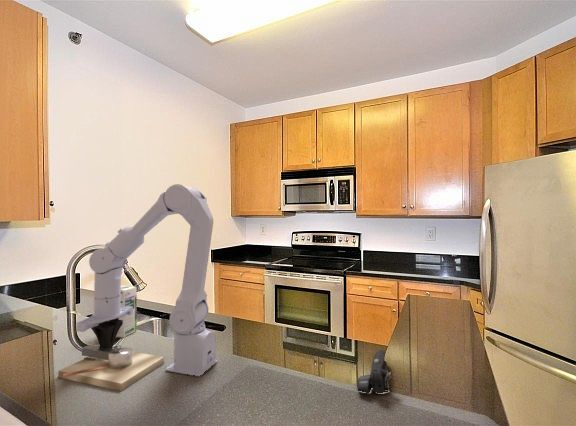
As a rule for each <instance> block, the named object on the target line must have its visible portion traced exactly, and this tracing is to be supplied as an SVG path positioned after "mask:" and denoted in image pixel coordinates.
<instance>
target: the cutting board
mask: <svg viewBox="0 0 576 426" xmlns="http://www.w3.org/2000/svg"><path fill="white" fill-rule="evenodd" d="M164 364H165V356H160V355H156V354H155V355H153V354H149V353H142V352H135V351H133V362H132V364H130V365H129V366H127V367H124V368H120V369H111V368H109V367H108V360H105V359H100V358H94V357H88V356H84V357H83V359H81V360H78V361H77V362H75V363H73V364H72V363H71V364H70V365H67V366H66V367H63V368H61V369H58V376H57V377H58V378H60V379H63V380H68V381H74V382H77V383H82V384H83V383H84V384H87V385H93V386H97V387H102V388H106V389H111V390H117V391H121V392H122V391H123V390H125V389H127V388H128V387H130V386H131V385H133V384H134V383H136V382H137V381H139V380H140V379H142V378H143V377H145V376H146V375H148V374H149V373H151V372H153V371H154V370H156V369H157V368H159V367H160V366H162V365H164Z"/></svg>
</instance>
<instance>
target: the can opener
mask: <svg viewBox="0 0 576 426" xmlns="http://www.w3.org/2000/svg"><path fill="white" fill-rule="evenodd" d="M385 357H386V351H384V350H382V349H378V350H376V352H375V353H374V355H373V358H372V361H371V369H370V374H365V375H360V376H359V377H358V379H357V381H356V382H357V383H356V389H357V392H358V391H362V392H366V393H369V392H370V390H371V388H373V390H372V392H374V391H375V392H377V393H383V392H388V391H385V390H388V389H390V385H389V381H390V379H392V374H391V372H392V371H389V370H388V363H387V361H386V360H385Z"/></svg>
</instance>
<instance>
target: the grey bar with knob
mask: <svg viewBox="0 0 576 426" xmlns="http://www.w3.org/2000/svg"><path fill="white" fill-rule="evenodd" d="M133 352H134V350H133V348H132V347H122V345H116V346H114V347H113V348H112V349H110V348H104V347H100V346H99V345H91V344H88V345H86V346H83V347H82V348H81V356H83V357H94V358H100V359H105V360H108V367H109V368H111V369H120V368H124V367H127V366H129V365H130V364H132V362H133Z"/></svg>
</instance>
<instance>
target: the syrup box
mask: <svg viewBox="0 0 576 426" xmlns="http://www.w3.org/2000/svg"><path fill="white" fill-rule="evenodd" d="M137 288H138V287H137V286H135V285H121V297H120V308H123V307H126V306H131V307H133V314H131V315H125V316H123V317H120V318H119V320H123V324H122V326H121V327H120V329H119V331H118V333H117V335H116V338H123V339H124V338H126V337H127V336H129V335H131V334H133V333H135V332H137V330H138V329H137V324H138V323H137V320H138V319H137V316H138V315H137V307H138V305H137V299H138V298H137V297H138V295H137V291H138V290H137Z"/></svg>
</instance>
